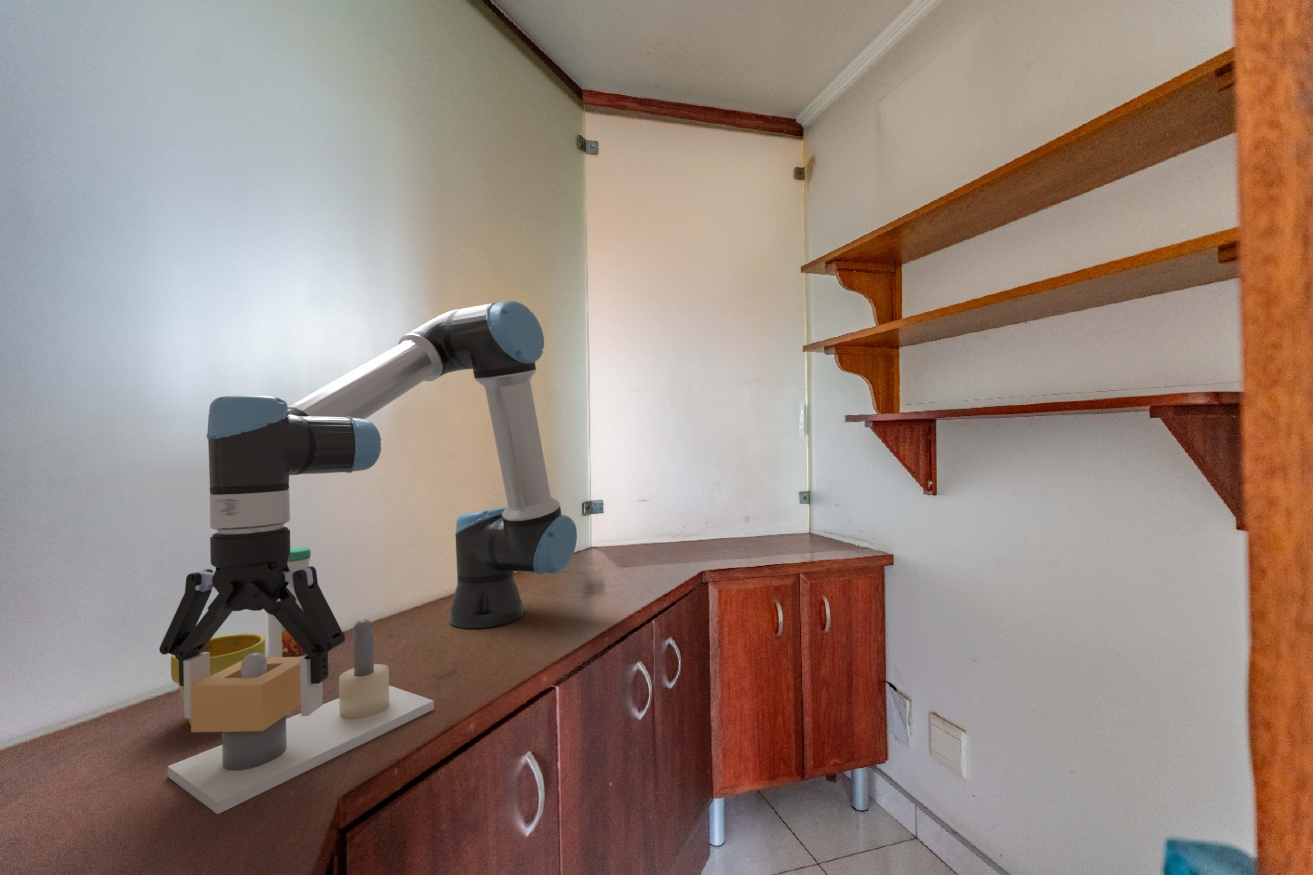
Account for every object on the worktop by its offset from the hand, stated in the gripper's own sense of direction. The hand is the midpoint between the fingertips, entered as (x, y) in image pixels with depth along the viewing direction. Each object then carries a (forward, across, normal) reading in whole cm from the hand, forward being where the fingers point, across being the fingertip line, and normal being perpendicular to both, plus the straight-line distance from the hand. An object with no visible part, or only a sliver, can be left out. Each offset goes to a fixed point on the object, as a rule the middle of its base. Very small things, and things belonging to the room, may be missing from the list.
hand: (254, 711), depth 64 cm
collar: (0, 0, 0) cm, 0 cm away
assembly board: (+6, +3, +6) cm, 9 cm away
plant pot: (+6, -15, +12) cm, 20 cm away
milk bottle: (+6, -16, +29) cm, 34 cm away
